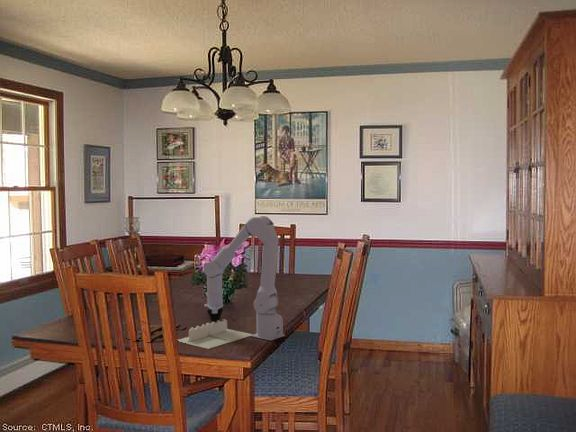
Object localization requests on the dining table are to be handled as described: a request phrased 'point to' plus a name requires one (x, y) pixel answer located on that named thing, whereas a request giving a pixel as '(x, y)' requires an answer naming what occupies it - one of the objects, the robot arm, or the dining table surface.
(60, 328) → the dining table surface
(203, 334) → the fence post and fixed panel
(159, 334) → the decorative fence
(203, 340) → the card
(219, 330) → the folding fence panel
